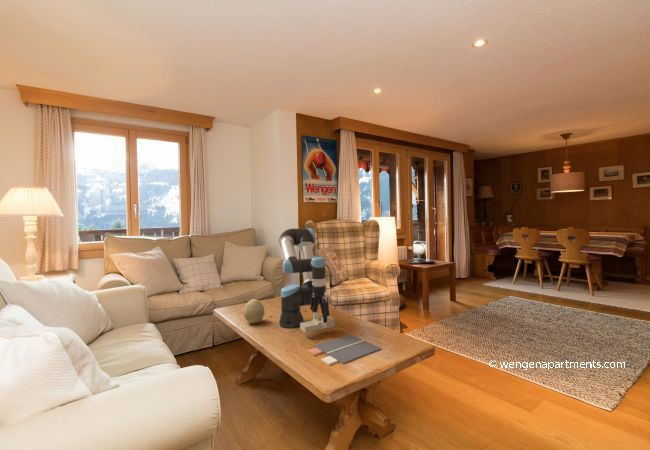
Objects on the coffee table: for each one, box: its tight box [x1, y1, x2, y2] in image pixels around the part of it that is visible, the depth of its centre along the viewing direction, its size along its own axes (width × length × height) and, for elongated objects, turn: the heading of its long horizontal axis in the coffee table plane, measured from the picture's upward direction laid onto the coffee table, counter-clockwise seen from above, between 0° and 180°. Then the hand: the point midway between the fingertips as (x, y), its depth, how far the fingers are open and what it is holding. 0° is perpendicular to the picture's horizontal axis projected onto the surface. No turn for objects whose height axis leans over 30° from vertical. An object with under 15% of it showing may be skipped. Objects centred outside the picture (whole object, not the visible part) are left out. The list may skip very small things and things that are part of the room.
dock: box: [307, 333, 382, 366], centre depth 157 cm, size 24×30×1 cm
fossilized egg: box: [243, 298, 265, 324], centre depth 200 cm, size 13×13×15 cm
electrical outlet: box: [299, 315, 336, 334], centre depth 177 cm, size 7×4×18 cm
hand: (320, 325), depth 178 cm, fingers closed on electrical outlet, 8 cm apart
